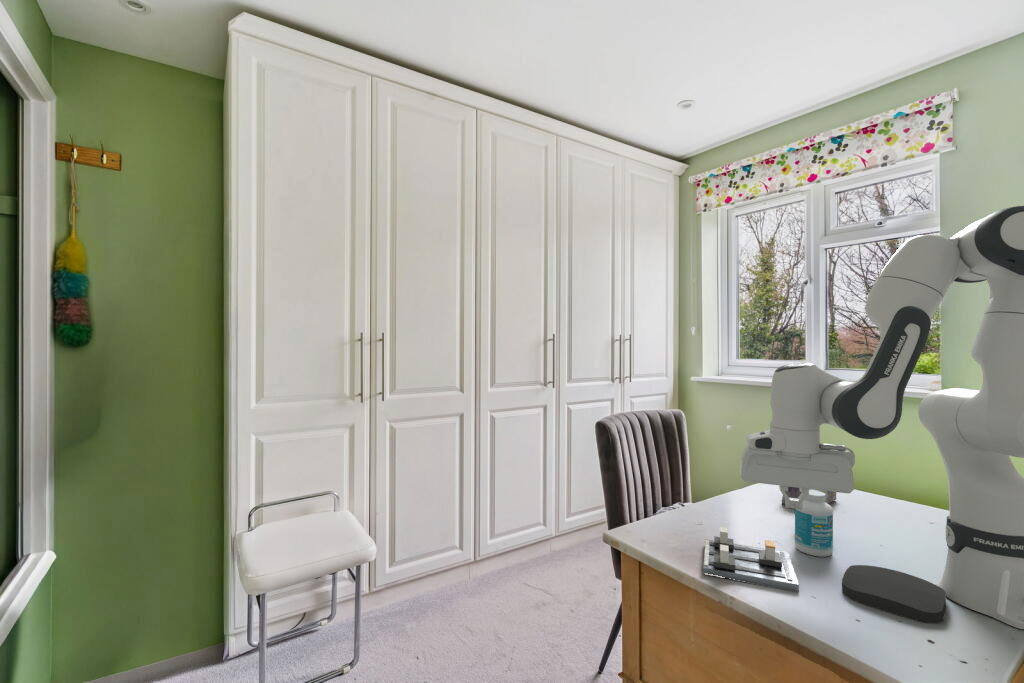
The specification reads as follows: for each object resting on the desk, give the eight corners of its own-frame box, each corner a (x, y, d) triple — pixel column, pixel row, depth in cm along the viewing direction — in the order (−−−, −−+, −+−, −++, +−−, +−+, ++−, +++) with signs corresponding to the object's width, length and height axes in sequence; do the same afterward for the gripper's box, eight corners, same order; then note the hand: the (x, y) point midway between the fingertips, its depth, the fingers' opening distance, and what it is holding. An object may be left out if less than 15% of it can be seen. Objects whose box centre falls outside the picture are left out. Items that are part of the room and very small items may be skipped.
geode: (816, 516, 130) (809, 479, 131) (773, 510, 140) (768, 476, 141) (845, 499, 142) (839, 466, 143) (804, 494, 152) (799, 463, 153)
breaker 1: (733, 543, 108) (733, 528, 108) (733, 549, 104) (733, 533, 104) (714, 540, 109) (714, 525, 109) (714, 546, 106) (714, 531, 106)
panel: (787, 558, 104) (787, 551, 104) (798, 592, 90) (798, 583, 90) (705, 545, 111) (705, 538, 111) (703, 574, 97) (703, 566, 97)
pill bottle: (815, 560, 103) (814, 498, 103) (787, 546, 110) (786, 489, 111) (841, 556, 105) (840, 495, 105) (812, 542, 112) (811, 486, 113)
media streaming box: (837, 598, 88) (837, 582, 88) (853, 572, 99) (853, 557, 99) (942, 631, 78) (942, 613, 78) (947, 598, 88) (947, 582, 88)
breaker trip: (780, 560, 99) (779, 541, 99) (782, 567, 96) (781, 548, 96) (758, 556, 101) (758, 538, 101) (760, 563, 98) (760, 545, 98)
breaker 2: (734, 562, 98) (734, 546, 98) (735, 570, 95) (735, 553, 95) (714, 559, 100) (713, 542, 100) (713, 566, 96) (713, 549, 96)
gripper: (850, 443, 96) (850, 510, 95) (739, 434, 104) (739, 496, 104) (859, 449, 90) (858, 521, 90) (741, 439, 98) (740, 505, 98)
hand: (793, 508), depth 97 cm, fingers closed
